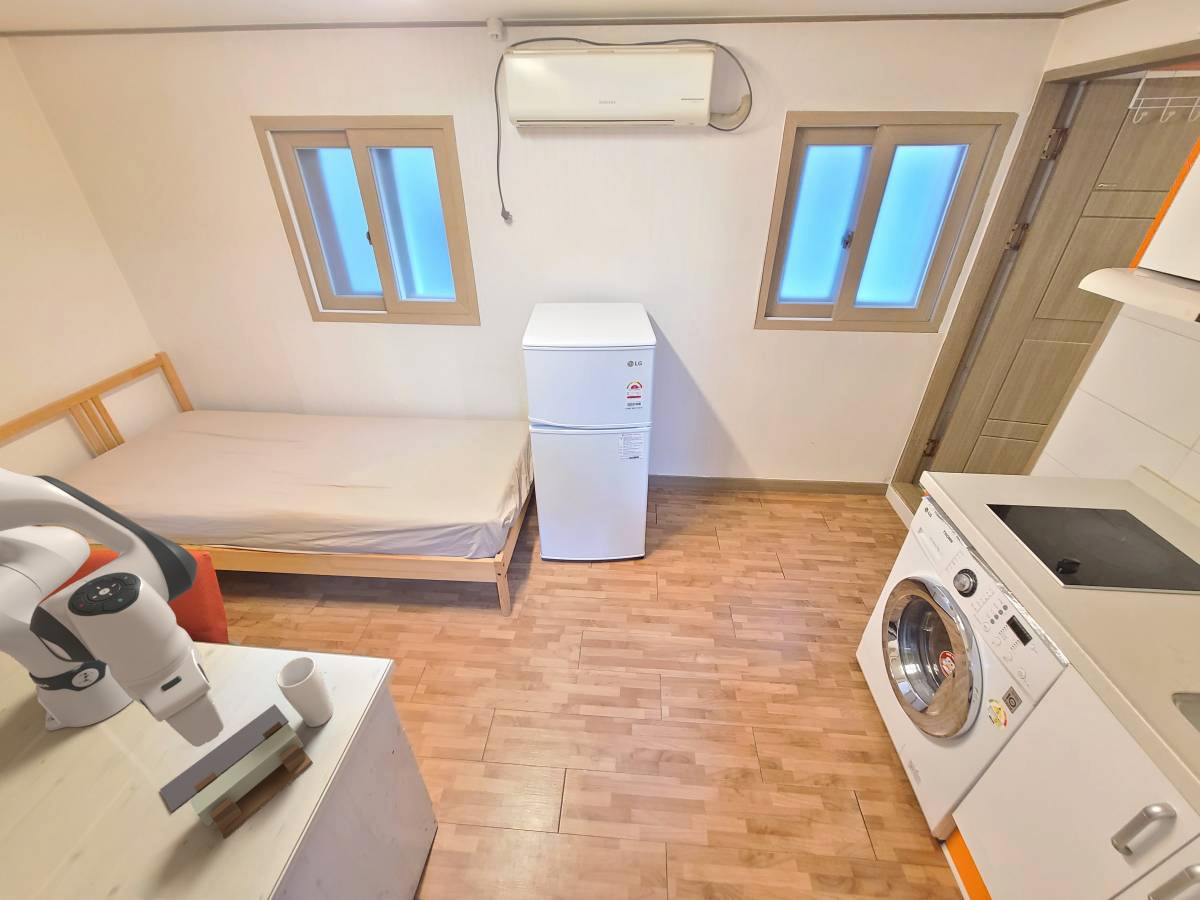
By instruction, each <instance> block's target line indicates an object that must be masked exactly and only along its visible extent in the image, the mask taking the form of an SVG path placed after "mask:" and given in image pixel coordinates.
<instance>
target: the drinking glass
mask: <svg viewBox="0 0 1200 900" xmlns="http://www.w3.org/2000/svg"><path fill="white" fill-rule="evenodd" d="M276 685H277V686H278V688H279V690H280V692H281V693H282V695H283V696H284V698H285V699H286V701H288V703H289V704H290V705H291V707H293V709H295V711H296V712H297V713H298V714H299V716H300V717H301V719H302V720H303V721H304V722H305V724H306V725H307V726H309V727H311V728H317V727H320V726H322V725H324V724H325V723H326V722H328V721H329V720H330V718H331V717H332V715H333V714H334V704H333V703H332V701H331V698H330V695H329V692H328V689H327V686H326V683H325V681H324V678H323V674H322V672H321V670H320V668H319V666H318V664H317V663H316V661H315V660H314V658H312V657H310V656H300V657H296V658H294V659H292V660H290V661H288V662H287V663H286V664H284V665H283V666H282V667H281V669H280V670H279V671H278V673H277V676H276Z"/></svg>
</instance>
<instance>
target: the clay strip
mask: <svg viewBox="0 0 1200 900" xmlns="http://www.w3.org/2000/svg"><path fill="white" fill-rule="evenodd" d="M295 743H296V744H297V745H298V746H299V748H303V747H304V744H303V742H302V741H301V740H300V737H299V736H298V734H297V733H296V732H295V730H294V729H293V728H292V727H291V725H290V724H289V722H288V723H286V724H285V725H284V726H283V727H282V728H281V729H280V730H278V731H277V732H276V733H275V734H273V735H272V736H271V737H270V738H268V739H267V740H265V741H263V742H262V743H261V744H259V745H258V746H257V747H256V748H254V749H253V750H252V751H250V752H249V753H248V754H247V755H245V756H244V757H243V758H242V759H240V760H239V761H238V762H236V763H235V764H234V765H233V766H231V767H230V768H229V769H227V770H226V771H225V772H224V773H222V774H221V775H220V776H218V778H217V779H216V780H215V781H213V782H212V783H211V784H210V785H208V786H207V787H206V788H204V789H203V790H202V791H201V792H199V793H197V794H195V795H194V796H193V797H192V798H190V799H189V800H188V802H190V804H191V807H192V808H193V810H194V812H195V814H196V816H197V817H198V818H199V819H200V820H201V821H203V824H205V825H206V826H209V825H211V824H212V822H214V820H213V819H212V818H211V816H210V813H211V812H212V811H213V810H215V809H216V808H217V807H218V806H219V805H221V804H222V803H223V802H224V801H226V800H227V799H228V798H229V797H230V798H231V800H232V801H233V802H234V803H235V802H237V801H238V800H239V799H240V798H241V797H243V796H244V795H245V794H246V793H247V792H249V791H250V790H251V789H252V788H253V787H255V786H256V785H257V784H258V783H259V782H261V781H262V780H263V779H264V778H265V777H267V776H268V775H269V774H270V773H271V772H273V771H274V770H275V769H276V768H277V767H279V766H280V765H281V764H282V763H283V762H282V761H281V759H280V758H279V756H281V755H282V754H283V753H284V752H285V751H287V750H288V749H289V748H290V747H292V746H293V745H294V744H295Z"/></svg>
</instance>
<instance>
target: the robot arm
mask: <svg viewBox="0 0 1200 900" xmlns="http://www.w3.org/2000/svg"><path fill="white" fill-rule="evenodd" d="M39 525H40V526H39ZM42 525H46V526H42ZM55 525H57V526H55ZM58 525H59V526H58ZM60 525H61V526H60ZM63 526H65V527H63ZM68 527H69V528H68ZM73 529H74V530H73ZM77 531H78V532H79V533H78V532H77ZM80 533H81V534H80ZM82 534H83V535H85V536H86V537H89V538H90V539H92V540H94V541H96V542H97V543H99V544H101V545H103V546H104V547H106V548H108V549H109V550H110V551H113V552H115V553H117V554H118V557H116V558H115V559H113V560H111V561H109V562H108V563H107V564H105V565H103V566H101V567H99V568H97V569H96V570H94V571H93V572H91V573H90V574H88V575H86V576H85V577H82V578H81V579H78V580H76V581H75V582H73V583H71V584H69V585H68V586H66V587H64V588H63V589H61V590H59V591H58V592H56V593H54V594H53V592H54V591H56V590H57V589H58V588H59V587H61V586H62V585H63V584H64V583H66V582H67V581H68V580H70V579H71V578H72V577H73V576H74V575H75V574H76V573H77V572H78V570H79V569H81V567H82V566H83V565H84V564H85V562H86V561H87V560H88V558H89V557H90V555H91V548H90V544H89V543H88V541H87V540H86V538H85V537H84V536H83V535H82ZM197 573H198V562H197V560H196V559H195V557H194V556H193V555H192V554H191V553H190V552H189V551H188V550H187V549H185V548H184V547H182V546H181V545H180V544H178V543H176V542H175V541H172V540H171V539H168V538H166V537H163V536H161V535H159V534H157V533H155V532H152V531H151V530H149V529H146V528H145V527H144V526H142V525H140V524H138V523H137V522H135V521H133V520H131V519H130V518H128V517H127V516H124V515H123V514H121V513H120V512H117V510H114V509H113V508H111V507H109V506H107V505H106V504H104V503H102V501H99V500H97V499H95V498H94V497H92V496H90V495H89V494H87V493H86V492H84V491H81V490H80V489H78V488H76V487H74V486H72V485H70V484H68V483H66V482H64V481H62V480H59V479H58V478H55V477H53V476H49V475H44V474H43V475H41V474H40V475H39V474H38V475H27V474H23V473H22V474H21V473H18V472H14V471H11V470H9V469H6V468H3V467H0V652H2V653H5V654H6V655H8V656H10V657H11V658H13V659H14V660H15V661H17V662H18V663H19V664H20V665H21V666H22V667H24V668H25V669H26V670H27V671H28V676H29V677H30V678H31V681H33V683H34V684H35V690H36V692H37V693H36V699H37V701H38V703H39V704H40V705H41V706H42V707H43V708H44V709H45V710H46V711H45V713H46V714H45V723H44V727H45V728H46V730H47V731H52V732H53V731H55V730H58V729H59V730H60V729H63V728H72V727H73V728H81V727H85V726H90V725H93V724H96V723H99V722H101V721H104V720H106V719H108V718H109V717H112V716H113V715H115V714H117V713H118V712H119V711H121V710H123V709H124V708H126V707H127V706H128V705H130V704H131V703H132V702H133V701H135V702H137V703H138V704H140V705H142V706H144V707H145V709H147V710H148V712H149V713H150V715H151V716H152V717H153V718H155V720H156V721H157V722H159V723H161V722H164V721H165V722H166V723H167V724H168V725H169V726H170V727H171V728H172V729H173V730H174V731H176V732H177V733H178V734H179V735H180V736H181V737H182V738H183V739H184V740H186V741H187V742H188V743H189V744H191V745H192V746H194V747H197V748H198V747H199V748H200V747H201V746H203V745H206V744H208V743H210V742H212V741H213V740H214V739H216V738H217V737H218V736H219V735H220V733H221V732H223V730H224V727H225V726H224V722H223V720H222V717H221V715H220V712H219V711H218V709H217V707H216V704H215V702H214V699H213V698H212V696H211V693H210V690H211V689H212V684H211V683H210V681H209V679H208V677H207V674H206V673H205V671H204V668H203V667H204V666H203V661H202V653H201V652H200V649H199V648H198V647H197V645H196V644H195V642H194V641H193V639H192V638H191V636H190V634H189V633H188V632H187V631H186V629H184V628H183V627H181V626H179V625H178V623H177V618H176V614H175V612H174V611H173V609H172V608H171V606H170V605H169V603H171V602H172V601H174V600H176V599H177V598H179V597H180V596H182V595H184V594H186V593H187V592H188V591H190V590H191V589H192V588H193V585H194V584H195V581H196V578H197ZM51 594H53V595H51ZM49 595H50V596H49ZM48 596H49V597H48ZM47 597H48V598H47ZM45 598H46V599H45ZM44 599H45V600H44ZM43 600H44V601H43Z"/></svg>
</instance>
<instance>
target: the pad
mask: <svg viewBox="0 0 1200 900" xmlns="http://www.w3.org/2000/svg"><path fill="white" fill-rule="evenodd" d="M278 722H280V723H281V725H282V726H283V727H284V726H285V725H286V724H287V723H288V724H289V720H288V718H287V717H286V716H285V714H283V712H282V711H281V709H280V708H279V707H278V706H277V705H276V704H275V703H274V704H272V706H270V707H268V708H267V709H266V710H264V711H263V712H262V713H261V714H260V715H258V716H256V718H254V719H253V720H251V721H250V722H248V723H247V724H246V725H244V726H243V727H242V728H241V729H239V730H237V731H236V732H235V733H234V734H232V735H231V736H230V737H229V738H227V739H225V740H224V741H223V742H221V743H220V744H219V745H218V746H217V747H215V748H213V750H211V751H210V752H208V753H207V754H206V755H204V756H203V757H202V758H200V759H199V760H198V761H196V762H195V763H193V764H192V765H190V766H189V767H188V768H187V769H185V770H184V771H182V772H181V773H180V774H178V775H177V776H176V777H174V778H173V779H172V780H170V781H169V782H168V783H167V784H166V785H164V786H162V787H161V788H160V789H159V790H160V792H161V794H162V796H163V798H164V800H165V802H166V804H167V806H168V808H169V811H170V812H171V813H174V812H175V811H176V810H177V809H179V808H181V807H182V806H183V805H184V804H186V803H187V802H189V800H190V799H192V798H193V797H194V796H195V795H197V794H198V793H197V791H196V790H195V788H194V787H195V786H196V785H197V784H199V783H200V782H201V781H203V780H204V779H205V778H206V777H208V776H209V775H210V774H212V773H213V772H214V773H215V774H216V775H217V776H218V777H220V776H221V775H222V774H224V773H225V772H226V771H227V770H229V769H230V768H231V767H232V766H234V765H235V764H236V763H238V762H239V761H240V760H241V759H243V758H244V757H245V756H247V755H248V754H249V753H250V752H252V751H253V750H254V749H255V748H257V747H258V746H259V745H261V744H262V743H263V742H264V741H266V739H265V738H264V736H263V735H262V734H264V733H265V732H266V731H267V730H269V729H270V728H271V727H273V726H274V725H275V724H276V723H278Z"/></svg>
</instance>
